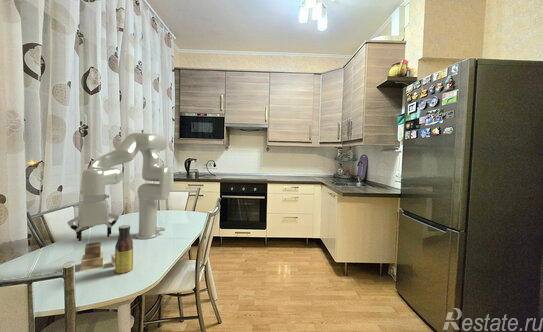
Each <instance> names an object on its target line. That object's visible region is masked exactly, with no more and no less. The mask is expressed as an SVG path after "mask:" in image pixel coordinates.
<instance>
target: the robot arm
mask: <svg viewBox="0 0 543 332" xmlns="http://www.w3.org/2000/svg"><path fill="white" fill-rule="evenodd" d="M167 146H168V141H167V139H166V138H165V137H164V136H162V135H157V134H152V133H146V132H145V133H144V132H143V133H142V132H132V133H130V134H128V135H126V137H125V138H124V139H123V140H122V142H121V143H120V144H119V145H118V147H116V149H115V150H112V151H110V152H107V153H105V154H104V155H102V156H99V157H98V158H96V159H95V160H94V161H93V162H92V163H91V165H89V167H88V168H87V169H85V170H83V171H82V173H81V174H82V175H81V176H82V201H81V202H80V204H79V210H78V211H79V212H78V215H77V216H76V217H74V218H72V219H70V220H68V221H67V222H66V223H67V225H68V227H70V229H71V230H72V231H74V232H76V234H75V235H76V239H77V240H78V242H80V241H82V234H83V232H82V229H83V228H84V227H93V226H103V225H106V227H107V228H106V229H107V231H106V237H107V238H109V237H110V235H112V227H113V226H114V225H116V223H117V221H118V220H119V218H120V216H119V215H116V214H113V213H111V212H110V210H109V209H110V208H109V203H108V200H107V199H109V198H110V195H109V194H106V185H107V186H108V185H109V186H110V185H116V184H119V183H120V182H121V181H123V178H124V172H123V171H122V170H121V169H120V168H116V167H115V166H119V165H123V164H126V163H130V162H131V161H132V160H134V158H135V157H136V156H137V155H138V153H139V152H140V153H141V154H142V167H141V168H142V169H141V170H142V171H141V172H142V173H141V178H142V179H143V181H146V183H145V182H144V183H142V184H140V185H139V186H138V188H137V197H138V207H139V208H138V232H137V233H135V235H134V236H135V238H136V239H139V240H146V239H152V238H156V237H158V236H159V235H160V232H165V231H166V228H165V227H158V226H157V225H158V223H157V221H158V220H157V219H158V217H157V216H158V215H157V214H158V204H157V202H156V201H155V200H157V201H165V200H167V199H168V198H169V196H170V192H171V180H172V179H171V177H172V171H171V169H170V168H169V167H168V166H167V165H166V166H164V165H159V164H160V156H159V154H158V153H157V152H158V151H159V152H161V151H164V150H166V148H167ZM156 151H157V152H156ZM147 182H148V183H147ZM149 182H150V183H149ZM151 182H157V183H151ZM158 182H159V183H158ZM110 218H113V220H112V221H109V220H110ZM77 221H78V226H77V225H76V224H74V222H75V223H76V222H77Z"/></svg>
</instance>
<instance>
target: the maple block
mask: <svg viewBox="0 0 543 332" xmlns="http://www.w3.org/2000/svg"><path fill="white" fill-rule="evenodd" d="M110 258H111V262H110V263H111V265H112V267H114V268H115V253H114V254H111V256H110Z"/></svg>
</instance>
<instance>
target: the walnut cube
mask: <svg viewBox="0 0 543 332" xmlns="http://www.w3.org/2000/svg"><path fill="white" fill-rule="evenodd" d="M101 249H102V241H97V242H89V243H85V246H84V255H85V260H86V259H93V258H99V257H100V254H101V252H102V250H101Z"/></svg>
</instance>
